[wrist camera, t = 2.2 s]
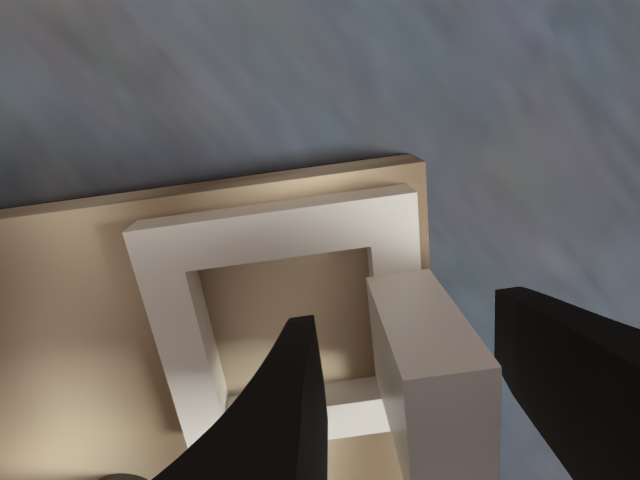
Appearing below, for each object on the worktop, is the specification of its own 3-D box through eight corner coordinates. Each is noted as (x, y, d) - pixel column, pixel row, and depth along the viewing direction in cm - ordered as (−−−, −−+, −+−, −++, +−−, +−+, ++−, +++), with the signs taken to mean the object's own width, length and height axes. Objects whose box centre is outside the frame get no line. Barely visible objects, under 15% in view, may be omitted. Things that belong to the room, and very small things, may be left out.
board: (410, 153, 12) (494, 198, 7) (431, 540, 17) (488, 731, 12) (-107, 223, 12) (-416, 323, 7) (73, 588, 17) (-23, 800, 12)
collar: (414, 182, 11) (504, 251, 6) (426, 401, 13) (497, 575, 8) (137, 220, 11) (10, 318, 6) (198, 432, 13) (141, 622, 8)
